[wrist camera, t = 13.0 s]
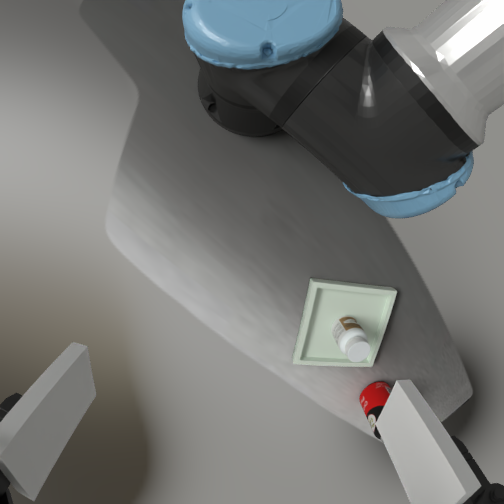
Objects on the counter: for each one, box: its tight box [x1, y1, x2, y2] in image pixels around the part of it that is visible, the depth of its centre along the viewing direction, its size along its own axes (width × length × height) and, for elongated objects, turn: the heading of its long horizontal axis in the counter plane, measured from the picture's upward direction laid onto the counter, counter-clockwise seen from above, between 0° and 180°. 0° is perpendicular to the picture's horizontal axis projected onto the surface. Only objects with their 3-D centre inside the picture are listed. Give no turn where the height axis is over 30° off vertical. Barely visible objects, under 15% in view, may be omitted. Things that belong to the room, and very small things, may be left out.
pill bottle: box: [331, 315, 371, 362], centre depth 40 cm, size 4×4×8 cm
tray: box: [292, 278, 397, 367], centre depth 44 cm, size 14×14×2 cm
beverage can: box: [360, 382, 392, 443], centre depth 43 cm, size 6×6×12 cm
